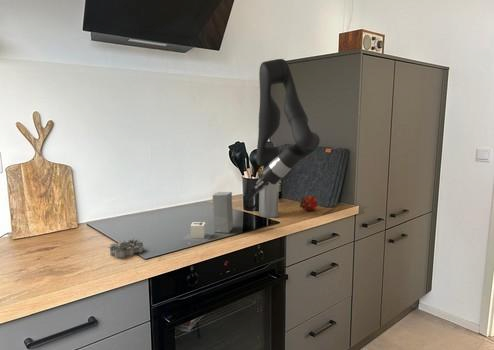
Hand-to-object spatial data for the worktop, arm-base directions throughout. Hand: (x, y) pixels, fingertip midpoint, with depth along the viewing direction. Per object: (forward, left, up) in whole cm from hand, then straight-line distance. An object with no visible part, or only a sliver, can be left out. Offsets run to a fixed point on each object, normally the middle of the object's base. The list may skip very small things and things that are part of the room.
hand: (246, 198), depth 146 cm
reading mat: (+8, -18, -14) cm, 24 cm away
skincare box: (-2, -10, -15) cm, 18 cm away
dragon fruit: (-44, +24, -15) cm, 52 cm away
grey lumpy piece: (+30, -36, -15) cm, 50 cm away
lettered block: (+8, -18, -14) cm, 24 cm away
